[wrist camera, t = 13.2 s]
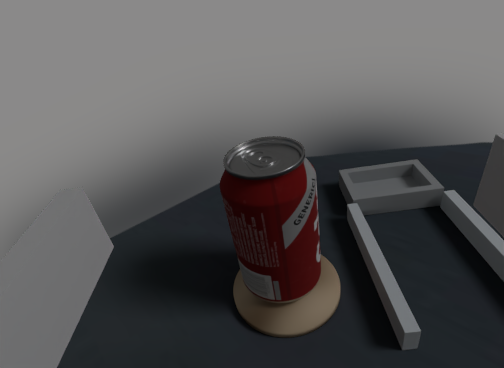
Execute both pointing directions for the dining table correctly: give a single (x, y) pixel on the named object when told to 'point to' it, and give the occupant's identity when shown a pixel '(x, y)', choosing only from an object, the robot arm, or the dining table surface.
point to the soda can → (273, 217)
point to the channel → (401, 318)
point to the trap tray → (390, 187)
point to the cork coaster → (290, 307)
